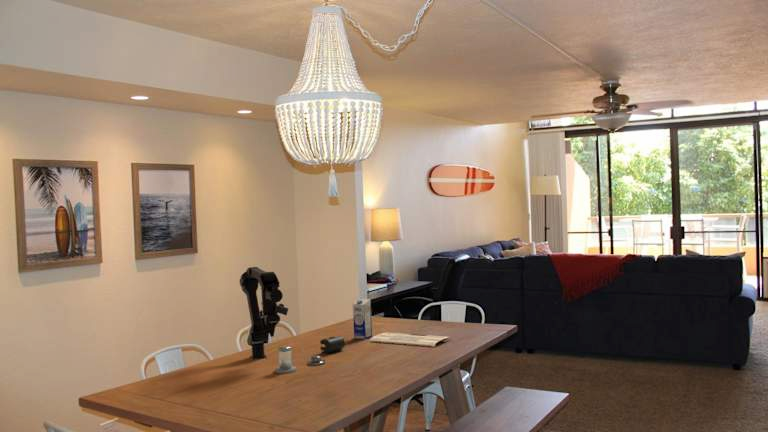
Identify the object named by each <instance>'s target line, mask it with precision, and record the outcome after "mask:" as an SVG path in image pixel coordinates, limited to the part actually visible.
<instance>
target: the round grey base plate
mask: <svg viewBox="0 0 768 432" xmlns="http://www.w3.org/2000/svg"><path fill="white" fill-rule="evenodd" d="M325 364H326V360H325V359H322V355H312V356H310V360H308V361H307V364H306V365H308V366H316V367H317V366H323V365H325Z"/></svg>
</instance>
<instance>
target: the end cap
mask: <svg viewBox="0 0 768 432" xmlns="http://www.w3.org/2000/svg"><path fill="white" fill-rule="evenodd" d="M320 345H324V346H320V350H321V354H332V353H334V352H335V353H336V352H338V351H342V350H343V349H344V348H345V345H346V341H345V338H343V337H342V336H341V335H339V336H331V337H329V338H328V339H327V338H324V339H321V340H320Z"/></svg>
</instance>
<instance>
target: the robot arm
mask: <svg viewBox="0 0 768 432" xmlns="http://www.w3.org/2000/svg"><path fill="white" fill-rule="evenodd" d="M239 286H240V287H241V290H242V292H243V293H244V294H245V296H246V300H247V306H248V313H249V318H250V322H251V323H250V324H251V326H250V328H249V329H248V332H249V333H248V336H247V340H246V342H247V345H248V346H251V355H250V358H251V359H252V360H257V359H262V358H267V355H266V354H265V344H268V343H269V336H270V337H271V338H272V337H274V335H275V331H276V325H278V324H279V323H280V321H281V316H280V315H279V314H281V315H284V316H287V314H288V312H289V308H288V307H286V306H285V304H283V303H279V302H281V301H282V299H283V292H282V290H280V289H279V288H280V281H279V279H278V277H277V274H276V273H275V272H274V271H265V270H263V269H261V268H260V267H258V266H252V267H248V268H247V269H246V271H244V272H243V273H242V274H241V276H240V279H239ZM259 287H260V290H261V303H260V304H261V306H262V307H261V308H262V309H261V310H260V307H259V300H258V295H257V290H258V289H259Z"/></svg>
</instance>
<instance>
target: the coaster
mask: <svg viewBox="0 0 768 432" xmlns="http://www.w3.org/2000/svg"><path fill="white" fill-rule="evenodd" d="M274 371H275V373H276V374H291V373H294V372H296V371H297V367H296V366H294V365H292V368H291V369H288V370H280V366H278V367H276V368H275V369H274Z"/></svg>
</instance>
